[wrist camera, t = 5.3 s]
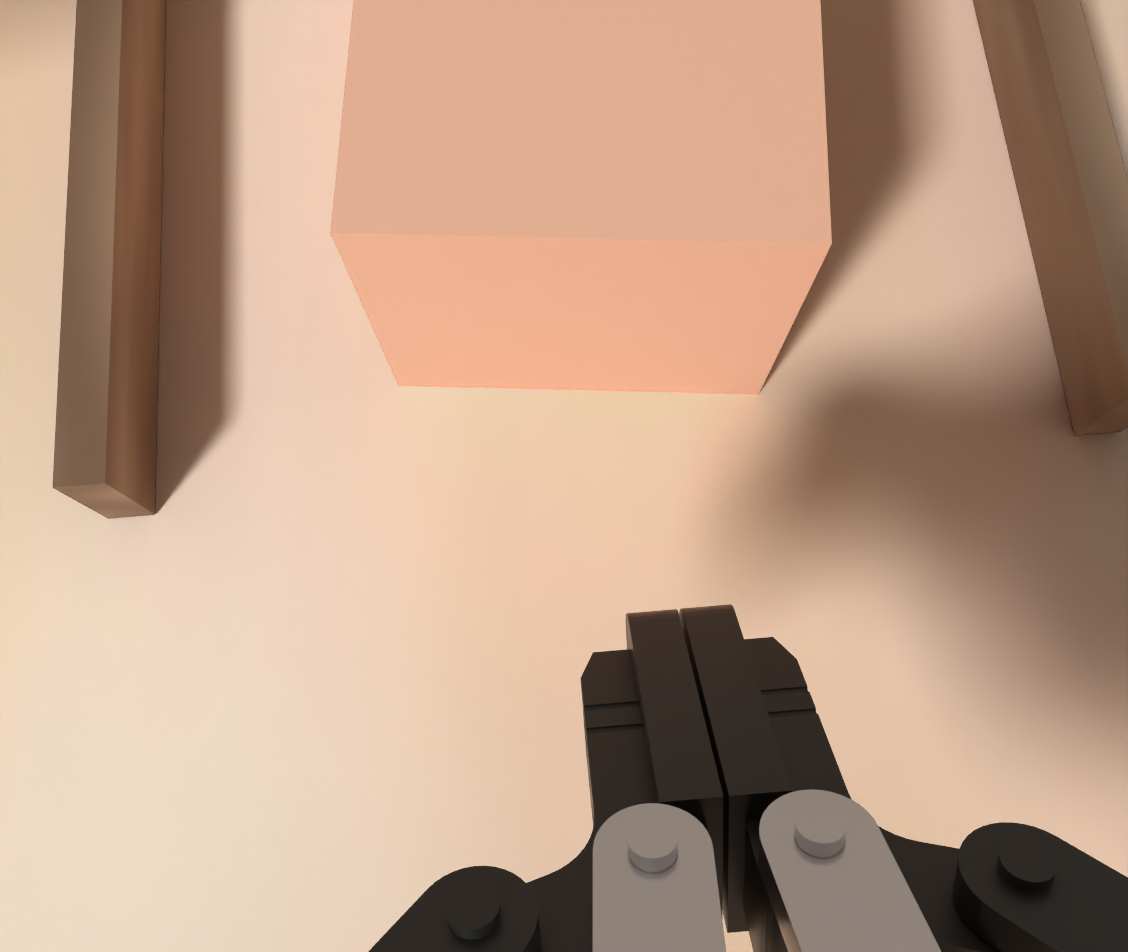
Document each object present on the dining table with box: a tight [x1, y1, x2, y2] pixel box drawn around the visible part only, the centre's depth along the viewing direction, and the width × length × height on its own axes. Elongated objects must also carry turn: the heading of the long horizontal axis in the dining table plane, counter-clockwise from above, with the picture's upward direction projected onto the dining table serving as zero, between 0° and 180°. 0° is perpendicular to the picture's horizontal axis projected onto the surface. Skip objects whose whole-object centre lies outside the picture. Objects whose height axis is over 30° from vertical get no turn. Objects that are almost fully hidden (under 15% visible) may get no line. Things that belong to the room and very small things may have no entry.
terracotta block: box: [330, 0, 832, 394], centre depth 22 cm, size 8×12×7 cm, turn 178°
